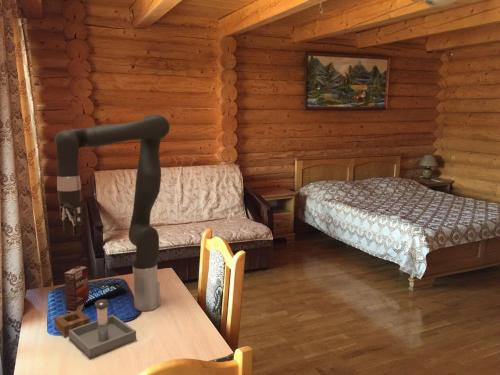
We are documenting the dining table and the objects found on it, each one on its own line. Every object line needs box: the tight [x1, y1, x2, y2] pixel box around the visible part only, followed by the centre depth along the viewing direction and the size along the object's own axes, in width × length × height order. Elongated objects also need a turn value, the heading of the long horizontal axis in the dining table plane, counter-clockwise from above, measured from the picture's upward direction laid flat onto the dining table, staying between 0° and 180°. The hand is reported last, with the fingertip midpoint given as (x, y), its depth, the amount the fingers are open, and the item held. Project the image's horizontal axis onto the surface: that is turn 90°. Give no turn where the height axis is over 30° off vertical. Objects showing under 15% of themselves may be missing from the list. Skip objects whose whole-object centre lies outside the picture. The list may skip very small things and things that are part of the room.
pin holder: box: [53, 310, 91, 338], centre depth 150 cm, size 9×9×4 cm
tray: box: [68, 314, 137, 360], centre depth 142 cm, size 16×16×4 cm
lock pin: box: [94, 299, 109, 342], centre depth 140 cm, size 4×4×13 cm
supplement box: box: [63, 265, 90, 313], centre depth 164 cm, size 9×5×16 cm, turn 168°
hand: (72, 233), depth 150 cm, fingers open, 8 cm apart
